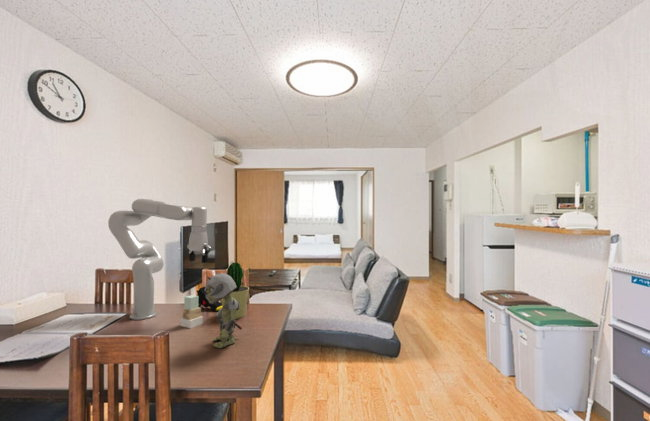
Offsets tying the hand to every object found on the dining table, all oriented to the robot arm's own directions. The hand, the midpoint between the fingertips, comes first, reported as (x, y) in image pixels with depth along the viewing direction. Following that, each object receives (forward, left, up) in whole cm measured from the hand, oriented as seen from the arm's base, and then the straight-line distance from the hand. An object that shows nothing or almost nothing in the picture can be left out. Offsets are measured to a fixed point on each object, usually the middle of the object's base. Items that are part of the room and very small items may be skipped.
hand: (198, 261), depth 164 cm
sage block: (+5, -8, -22) cm, 24 cm away
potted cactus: (+14, +13, -31) cm, 36 cm away
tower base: (+5, -8, -31) cm, 32 cm away
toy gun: (-10, +14, -31) cm, 35 cm away
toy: (+36, -16, -31) cm, 50 cm away
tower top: (+5, -8, -27) cm, 28 cm away
